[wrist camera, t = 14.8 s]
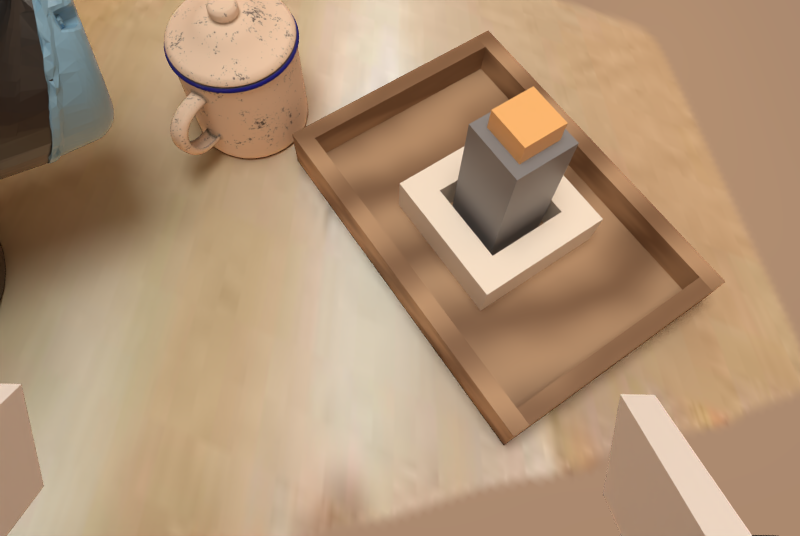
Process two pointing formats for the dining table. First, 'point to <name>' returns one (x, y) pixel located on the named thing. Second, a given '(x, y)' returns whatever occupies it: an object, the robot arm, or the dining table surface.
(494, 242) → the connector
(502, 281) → the socket
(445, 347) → the brown wooden tray
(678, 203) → the dining table surface
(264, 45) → the teacup with lid
